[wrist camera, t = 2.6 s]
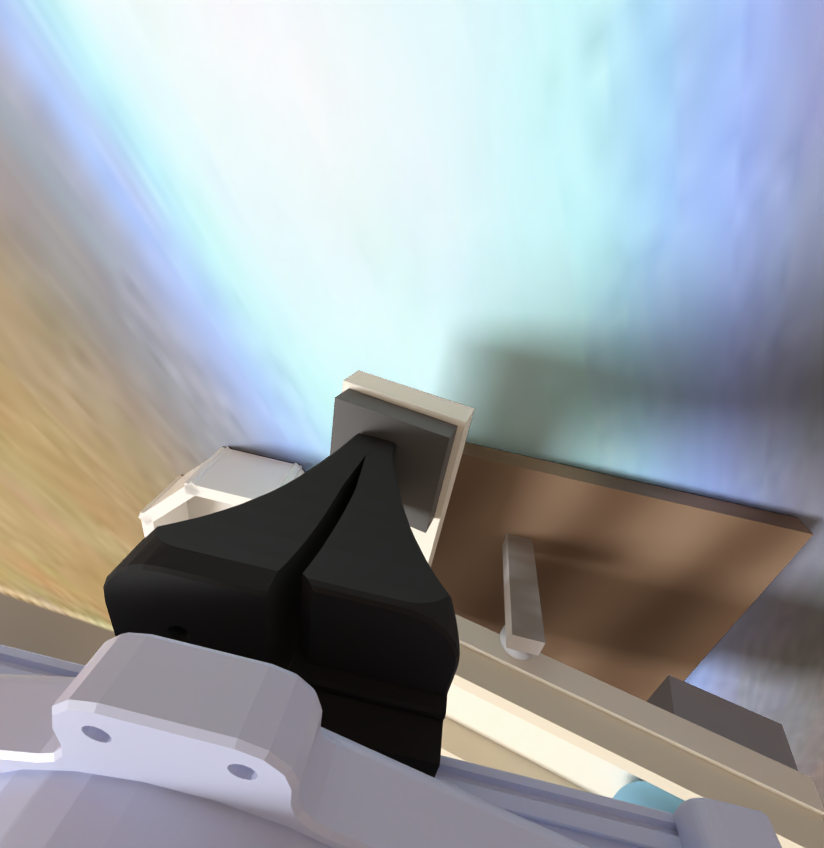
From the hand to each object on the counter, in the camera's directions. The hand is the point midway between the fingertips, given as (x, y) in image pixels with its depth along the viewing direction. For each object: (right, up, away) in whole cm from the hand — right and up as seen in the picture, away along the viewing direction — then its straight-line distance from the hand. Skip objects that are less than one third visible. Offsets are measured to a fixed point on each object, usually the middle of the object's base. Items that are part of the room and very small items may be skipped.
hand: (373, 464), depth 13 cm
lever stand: (+8, -7, +9) cm, 14 cm away
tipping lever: (+7, -6, +4) cm, 10 cm away
